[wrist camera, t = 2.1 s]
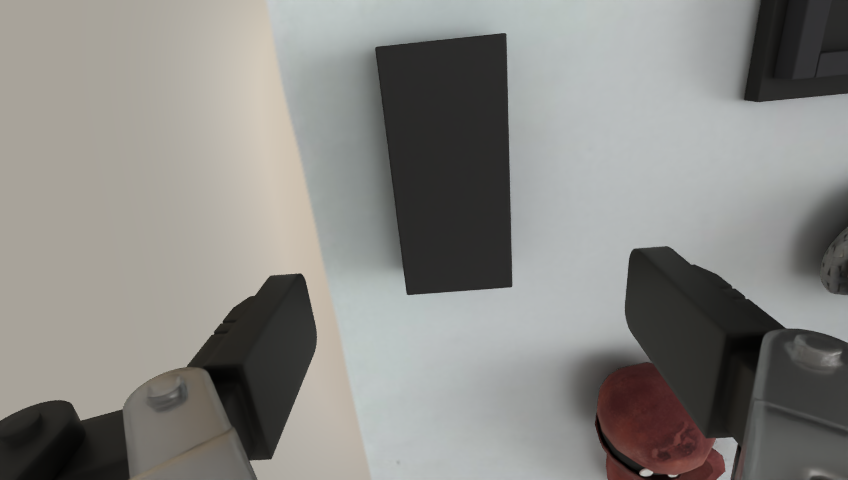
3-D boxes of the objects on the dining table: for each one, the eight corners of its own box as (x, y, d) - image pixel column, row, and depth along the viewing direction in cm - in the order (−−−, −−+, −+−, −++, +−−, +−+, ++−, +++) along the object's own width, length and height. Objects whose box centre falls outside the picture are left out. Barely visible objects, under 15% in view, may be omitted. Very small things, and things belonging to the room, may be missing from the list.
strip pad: (382, 47, 21) (374, 47, 19) (496, 35, 21) (506, 32, 18) (409, 269, 26) (406, 295, 23) (504, 262, 26) (512, 287, 23)
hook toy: (846, 430, 23) (726, 540, 30) (755, 342, 29) (670, 451, 35) (660, 435, 21) (573, 553, 27) (599, 338, 26) (537, 456, 33)
